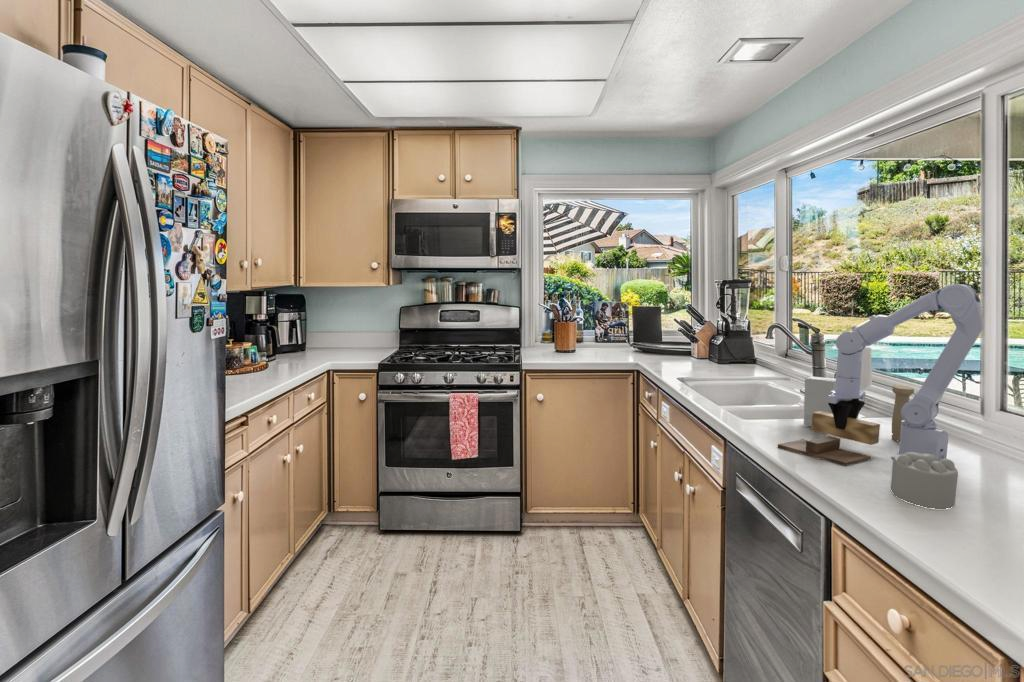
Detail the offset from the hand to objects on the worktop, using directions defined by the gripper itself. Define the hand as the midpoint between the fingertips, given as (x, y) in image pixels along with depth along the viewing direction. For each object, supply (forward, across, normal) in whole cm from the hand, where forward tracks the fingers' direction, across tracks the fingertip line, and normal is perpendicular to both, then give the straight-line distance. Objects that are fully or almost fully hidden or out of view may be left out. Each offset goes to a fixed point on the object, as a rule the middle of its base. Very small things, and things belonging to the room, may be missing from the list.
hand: (844, 427), depth 163 cm
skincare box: (+5, -16, -16) cm, 23 cm away
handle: (+5, -21, +4) cm, 22 cm away
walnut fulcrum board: (+5, +11, +1) cm, 12 cm away
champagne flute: (+5, -30, -13) cm, 33 cm away
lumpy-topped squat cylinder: (+6, +24, +30) cm, 39 cm away
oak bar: (+2, 0, 0) cm, 2 cm away
